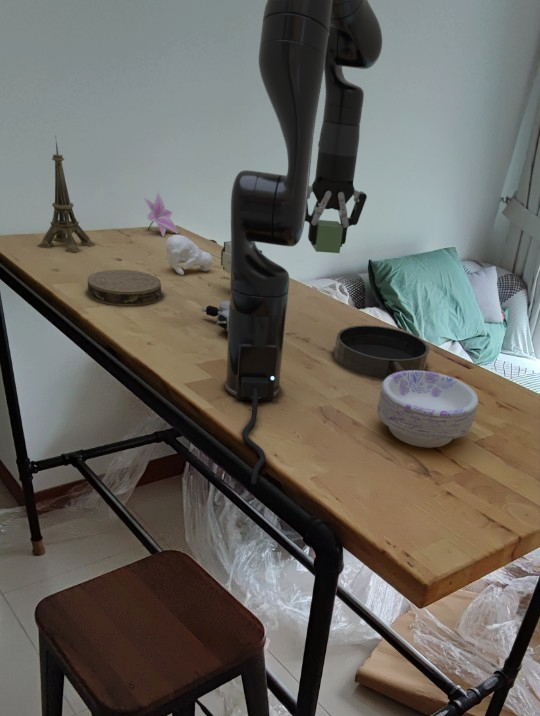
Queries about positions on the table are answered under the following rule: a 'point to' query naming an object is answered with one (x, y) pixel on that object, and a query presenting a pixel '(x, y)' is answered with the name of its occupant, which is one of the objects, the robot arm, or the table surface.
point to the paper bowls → (426, 407)
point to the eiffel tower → (63, 214)
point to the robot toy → (219, 313)
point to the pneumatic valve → (227, 257)
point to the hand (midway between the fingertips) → (326, 244)
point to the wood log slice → (124, 287)
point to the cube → (328, 236)
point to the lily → (160, 215)
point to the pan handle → (396, 367)
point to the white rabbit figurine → (186, 254)
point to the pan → (379, 350)
